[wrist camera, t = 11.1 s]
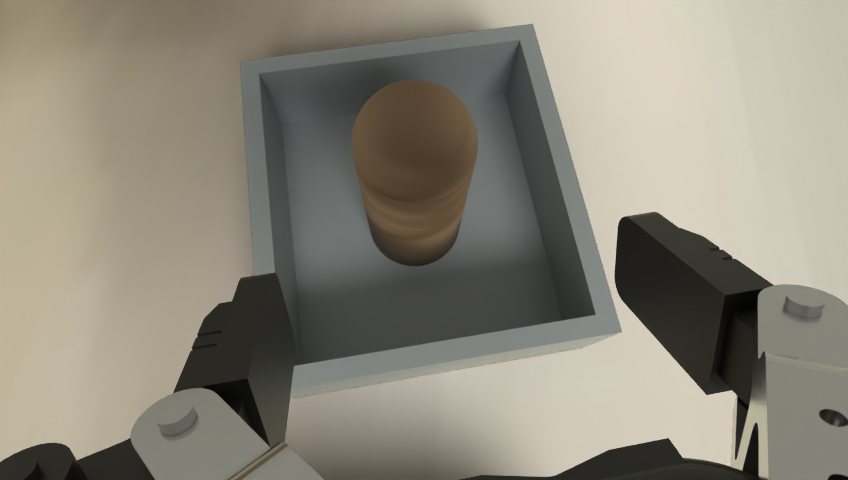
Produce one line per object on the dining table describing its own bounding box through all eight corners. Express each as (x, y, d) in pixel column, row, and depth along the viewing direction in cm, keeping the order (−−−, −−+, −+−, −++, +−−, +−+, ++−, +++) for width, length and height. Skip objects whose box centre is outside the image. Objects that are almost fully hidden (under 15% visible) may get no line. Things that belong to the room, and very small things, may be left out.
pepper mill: (375, 272, 25) (352, 183, 15) (364, 189, 26) (336, 59, 17) (466, 259, 25) (498, 163, 16) (450, 176, 26) (471, 43, 17)
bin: (292, 398, 24) (262, 394, 19) (269, 120, 28) (239, 61, 23) (581, 348, 25) (621, 332, 20) (513, 87, 29) (532, 23, 24)
